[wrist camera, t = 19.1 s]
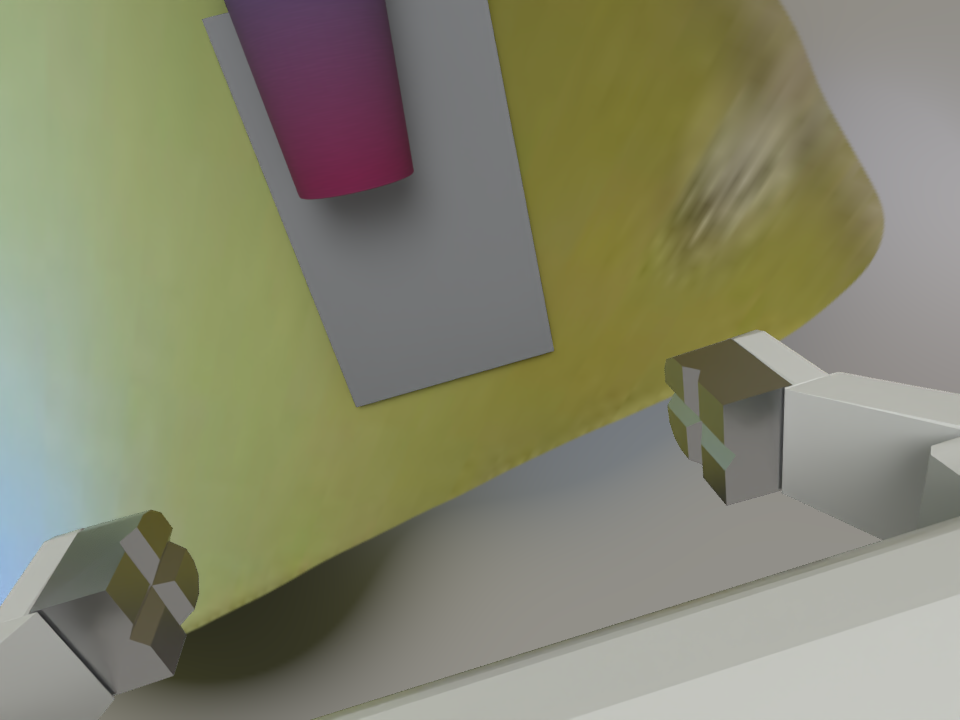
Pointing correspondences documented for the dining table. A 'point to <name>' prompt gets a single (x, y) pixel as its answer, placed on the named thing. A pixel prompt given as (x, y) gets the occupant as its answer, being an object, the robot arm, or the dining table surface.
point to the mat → (417, 216)
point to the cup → (328, 90)
